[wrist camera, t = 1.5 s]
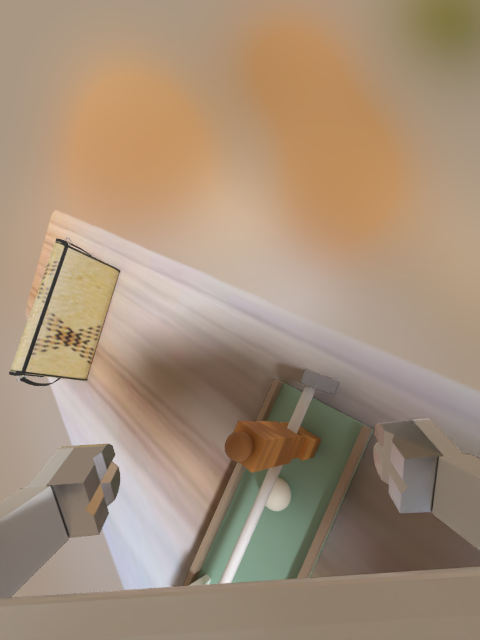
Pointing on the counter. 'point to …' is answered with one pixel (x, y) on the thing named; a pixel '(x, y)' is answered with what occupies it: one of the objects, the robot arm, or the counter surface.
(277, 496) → the ball
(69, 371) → the clutch purse
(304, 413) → the pitch
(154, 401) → the counter surface
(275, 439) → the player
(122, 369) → the counter surface
